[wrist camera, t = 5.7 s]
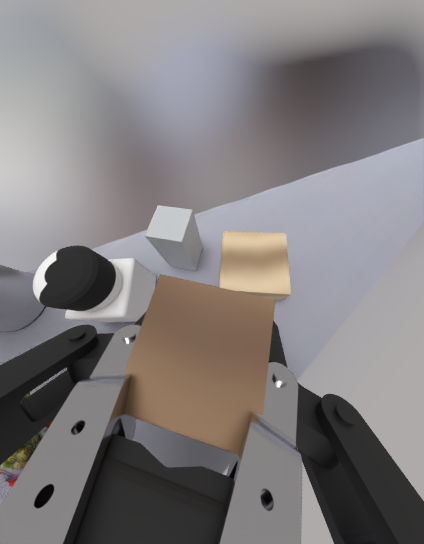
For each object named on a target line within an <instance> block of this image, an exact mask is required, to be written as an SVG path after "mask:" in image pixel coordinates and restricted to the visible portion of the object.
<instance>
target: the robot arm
mask: <svg viewBox="0 0 424 544" xmlns="http://www.w3.org/2000/svg"><path fill="white" fill-rule="evenodd" d="M34 276H35V275H32V274H29V273H25V272H22V271H19V270H15V269H12V268H9V267H5V266H2V265H0V332H9V331H16V330H19V329H22V328H23V327H25V326H27V325H28V324H30V323H31V322H32V321H34V320H35V319H36V318H37V317H38V316H39V314H40V313H41V312H42V310H43V309H44V307H45V305H43V304H41V303H40V302H39V301H38V299H37V298H36V296H35V294H34V292H33V280H34ZM145 314H146V312H145V313H144V314H143V315H142V316H141V317H140V319H139V320H138V321H137V322H136V323H135V324H134V325H128V326H125V327H123V328H121V329H119V330H118V331H117V332H116V333H109V334H97V331H96V329H95V327H94V326H91V325H80V326H76V327H73V328H71V329H69V330H67V331H65V332H63V333H61V334H59V335H57V336H56V337H54V338H52V339H50V340H48V341H46V342H44V343H42V344H40V345H38V346H36V347H35V348H33V349H31V350H29V351H27V352H25V353H23V354H21V355H19V356H17V357H15V358H13V359H12V360H10V361H8V362H6V363H4V364H2V365H0V465H1V464H2V463H4V462H5V461H6V460H7V459H8V458H9V457H11V456H12V455H13V454H14V453H15V452H16V451H18V450H19V449H20V448H21V447H22V446H23V445H25V444H26V443H27V442H28V441H29V440H30V439H32V438H33V437H34V436H35V435H36V434H37V433H39V432H40V431H41V430H42V429H43V428H44V427H46V426H47V425H48V424H49V423H50V422H52V421H53V422H52V424H51V425H50V427H49V428H48V430H47V432H46V433H45V435H44V437H43V438H42V440H41V441H40V443H39V445H38V446H37V448H36V450H35V451H34V453H33V454H32V456H31V458H30V459H29V461H28V462H27V464H26V466H25V467H24V469H23V471H22V472H21V474H20V475H19V477H18V479H17V480H16V482H15V483H14V485H13V487H12V488H11V490H10V492H9V493H8V495H7V496H6V498H5V500H4V501H3V503H2V505H1V506H0V544H301V515H302V511H301V510H302V462H303V464H304V467H305V469H306V472H307V475H308V477H309V480H310V482H311V485H312V487H313V490H314V493H315V495H316V498H317V500H318V503H319V505H320V508H321V511H322V513H323V516H324V518H325V521H326V524H327V526H328V528H329V531H330V533H331V536H332V539H333V542H334V544H424V501H423V500H422V499H421V497H420V496H419V495H418V493H417V492H416V490H415V489H414V487H413V486H412V485H411V483H410V482H409V481H408V479H407V478H406V477H405V475H404V474H403V472H402V471H401V470H400V468H399V467H398V466H397V464H396V463H395V461H394V460H393V459H392V457H391V456H390V455H389V453H388V452H387V451H386V449H385V448H384V446H383V445H382V444H381V442H380V441H379V440H378V438H377V437H376V435H375V434H374V433H373V432H372V430H371V429H370V427H369V426H368V425H367V423H366V422H365V420H364V419H363V418H362V416H361V415H360V414H359V413H358V411H357V410H356V409H355V408H354V407H353V406H352V405H351V404H350V403H348V402H347V401H346V400H344V399H343V398H341V397H339V396H337V395H334V394H326V395H324V396H323V398H321V397H319V396H317V395H316V394H314V393H312V392H311V391H309V390H307V389H305V388H304V387H302V386H301V385H300V384H299V383H298V382H297V380H296V378H295V376H294V375H293V373H292V372H291V371H290V370H289V369H288V368H287V364H286V360H285V356H284V352H283V347H282V343H281V339H280V335H279V330H278V326H277V325H276V324H275V322H274V321H273V326H272V336H271V345H270V354H269V363H268V373H267V382H266V391H265V401H264V410H263V415H260V414H257V413H254V412H252V413H251V416H250V419H249V422H248V426H247V429H246V432H245V435H244V438H243V441H242V444H241V447H240V450H239V453H238V454H235V453H234V454H233V457H232V459H231V462H230V465H229V468H228V472H227V475H223V474H220V473H218V472H215V471H212V470H210V469H207V468H204V467H202V466H201V467H177V468H167V467H165V466H164V465H163V464H161V463H160V462H159V461H158V460H157V459H156V458H155V457H154V456H153V455H152V454H151V453H150V452H149V451H148V450H147V449H146V448H145V447H144V446H143V445H141V444H140V443H138V442H135V441H133V437H134V432H135V426H136V418H134V417H131V416H128V415H126V414H125V411H126V405H127V399H128V393H129V387H130V381H131V375H132V374H131V373H127V372H124V371H125V368H126V366H127V363H128V360H129V358H130V355H131V352H132V349H133V347H134V344H135V341H136V339H137V336H138V333H139V330H140V328H141V325H142V322H143V320H144V317H145ZM64 368H67V370H66V371H65V372H64V373H62V374H61V375H59V376H58V377H56V378H55V379H53V380H52V381H51V382H49V383H48V384H46V385H45V386H43V387H42V388H40V389H39V390H38V391H36V392H35V393H33V394H32V395H30V396H29V397H27V398H24V399H23V397H24V396H25V395H26V394H28V393H29V392H30V391H32V390H33V389H35V388H36V387H37V386H39V385H40V384H42V383H43V382H45V381H46V380H48V379H49V378H51V377H52V376H54V375H55V374H57V373H58V372H60V371H61V370H63V369H64ZM297 449H298V450H297Z"/></svg>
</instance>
